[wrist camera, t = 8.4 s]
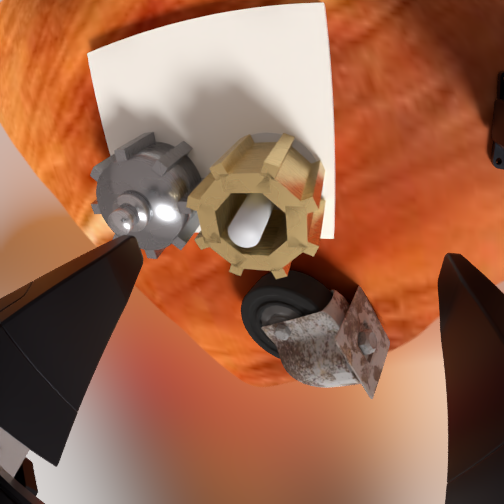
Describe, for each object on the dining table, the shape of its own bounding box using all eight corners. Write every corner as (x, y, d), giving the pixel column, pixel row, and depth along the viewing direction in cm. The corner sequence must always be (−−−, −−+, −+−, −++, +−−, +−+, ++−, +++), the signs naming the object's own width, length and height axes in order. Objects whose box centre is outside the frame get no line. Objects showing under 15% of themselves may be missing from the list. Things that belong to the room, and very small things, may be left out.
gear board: (325, 6, 14) (314, -21, 8) (334, 227, 22) (326, 301, 16) (100, 50, 18) (22, 69, 12) (142, 220, 27) (92, 275, 21)
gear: (201, 125, 19) (157, 155, 14) (221, 233, 23) (191, 282, 19) (106, 139, 21) (55, 169, 17) (133, 230, 26) (95, 271, 21)
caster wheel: (249, 272, 30) (337, 234, 24) (309, 357, 32) (395, 341, 26) (208, 314, 26) (306, 282, 19) (281, 405, 27) (378, 400, 21)
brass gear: (323, 132, 17) (317, 161, 13) (325, 232, 21) (318, 282, 17) (213, 136, 19) (176, 165, 15) (229, 228, 23) (202, 272, 19)
